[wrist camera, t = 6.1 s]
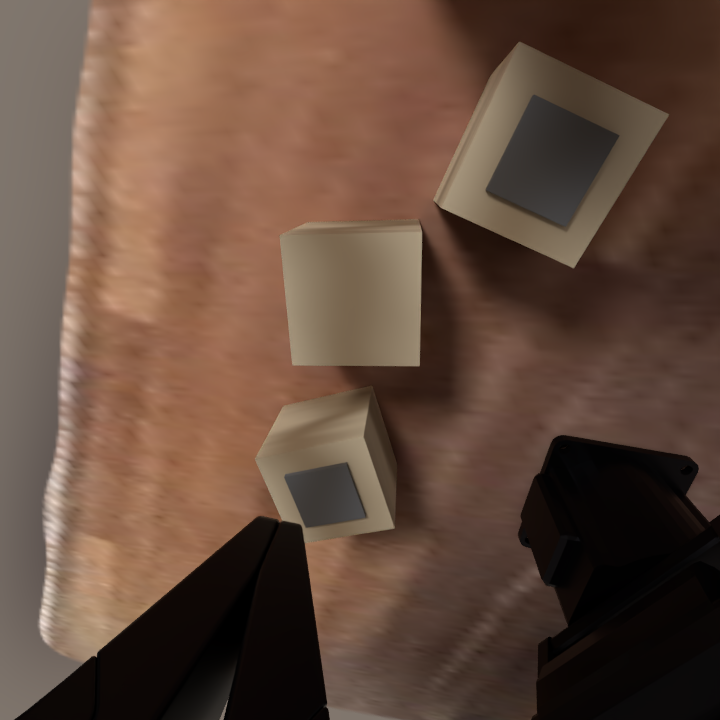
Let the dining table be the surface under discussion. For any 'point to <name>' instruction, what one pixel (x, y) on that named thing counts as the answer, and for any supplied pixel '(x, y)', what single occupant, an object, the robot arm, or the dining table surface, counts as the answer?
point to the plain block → (354, 292)
